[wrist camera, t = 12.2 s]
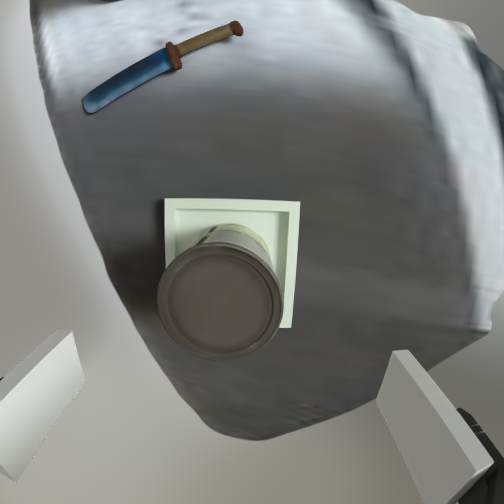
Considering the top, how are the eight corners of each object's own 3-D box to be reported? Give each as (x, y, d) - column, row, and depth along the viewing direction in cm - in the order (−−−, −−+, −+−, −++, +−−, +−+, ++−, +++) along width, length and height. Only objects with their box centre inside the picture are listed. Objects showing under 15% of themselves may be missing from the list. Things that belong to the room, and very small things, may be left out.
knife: (79, 119, 30) (75, 93, 30) (91, 125, 33) (87, 99, 33) (247, 33, 27) (234, 10, 27) (250, 46, 30) (238, 23, 30)
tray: (169, 198, 35) (164, 198, 33) (297, 201, 35) (300, 201, 33) (172, 315, 39) (169, 322, 37) (289, 321, 39) (290, 327, 37)
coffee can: (263, 308, 38) (268, 370, 24) (185, 293, 37) (152, 347, 23) (280, 230, 35) (297, 257, 22) (197, 215, 35) (163, 231, 21)
